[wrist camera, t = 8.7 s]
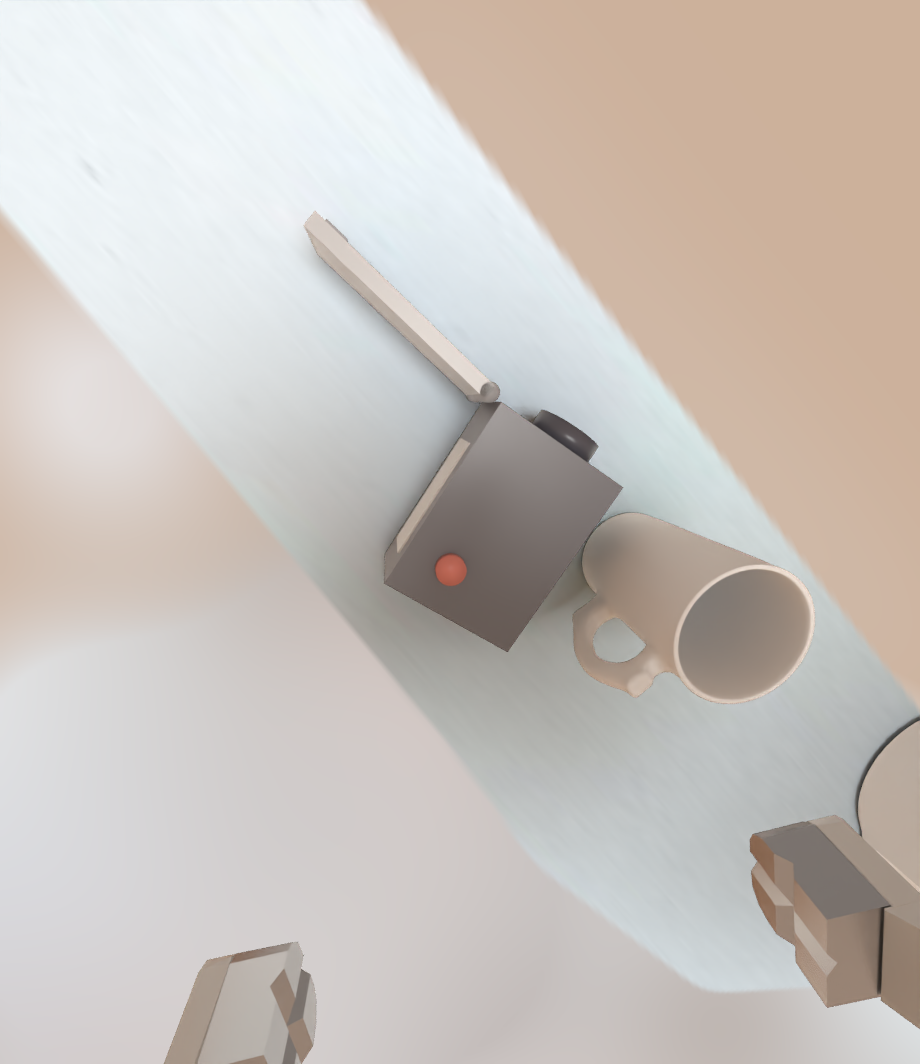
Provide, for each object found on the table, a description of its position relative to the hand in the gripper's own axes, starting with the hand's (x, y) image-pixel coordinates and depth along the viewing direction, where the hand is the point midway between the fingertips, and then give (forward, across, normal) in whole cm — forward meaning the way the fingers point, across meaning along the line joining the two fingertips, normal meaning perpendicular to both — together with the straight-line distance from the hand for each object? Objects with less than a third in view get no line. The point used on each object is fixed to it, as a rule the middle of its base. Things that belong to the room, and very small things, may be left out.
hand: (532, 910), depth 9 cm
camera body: (+24, -3, -1) cm, 25 cm away
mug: (+25, -10, +4) cm, 27 cm away
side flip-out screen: (+24, 0, -13) cm, 27 cm away
